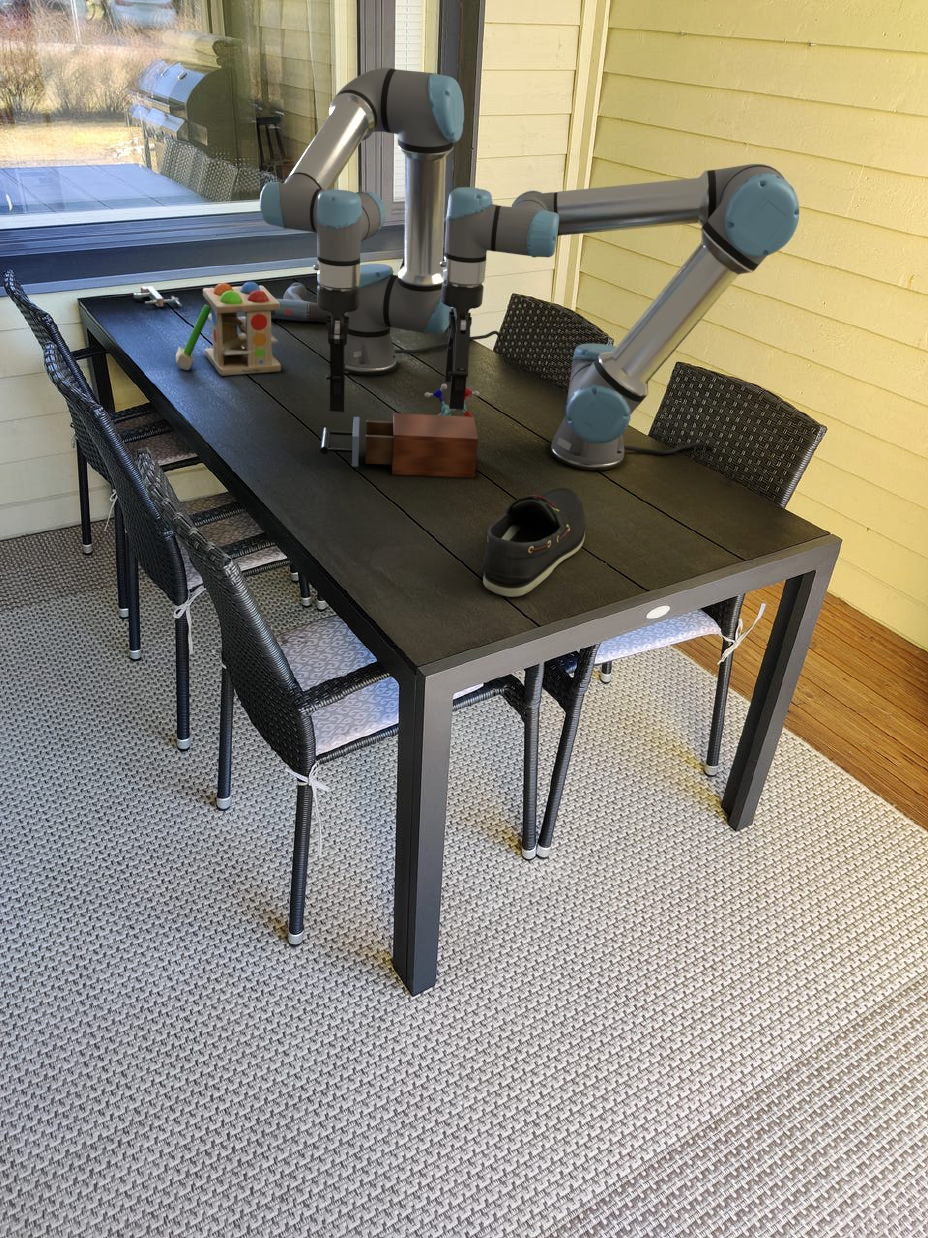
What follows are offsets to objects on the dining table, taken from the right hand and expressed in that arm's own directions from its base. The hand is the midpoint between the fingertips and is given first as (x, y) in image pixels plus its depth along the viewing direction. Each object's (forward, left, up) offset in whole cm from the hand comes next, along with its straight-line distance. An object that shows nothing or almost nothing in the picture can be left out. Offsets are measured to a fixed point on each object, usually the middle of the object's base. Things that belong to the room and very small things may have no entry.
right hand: (453, 394), depth 188 cm
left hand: (+22, -5, -4) cm, 23 cm away
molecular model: (-6, -20, -15) cm, 26 cm away
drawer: (+14, -3, -14) cm, 20 cm away
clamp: (+51, -106, -15) cm, 119 cm away
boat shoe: (-5, +36, -15) cm, 39 cm away
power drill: (+13, -96, -15) cm, 98 cm away
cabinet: (+3, -1, -15) cm, 15 cm away
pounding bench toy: (+38, -58, -15) cm, 71 cm away
